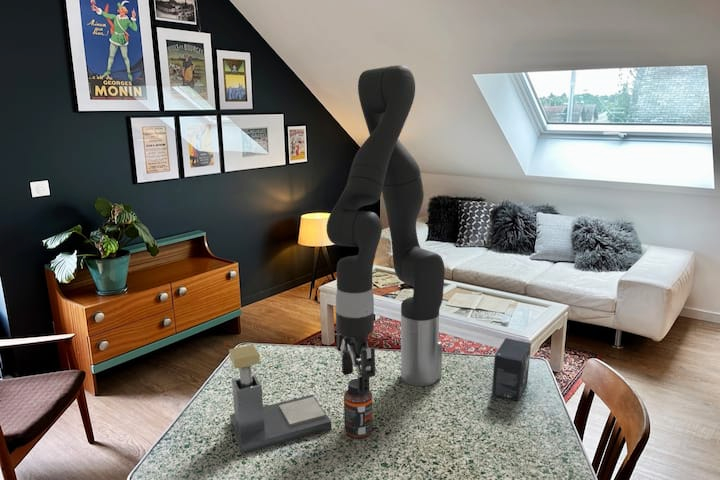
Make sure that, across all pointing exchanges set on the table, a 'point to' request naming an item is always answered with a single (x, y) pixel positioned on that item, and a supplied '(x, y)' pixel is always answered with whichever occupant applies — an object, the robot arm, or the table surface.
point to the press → (273, 418)
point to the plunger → (244, 363)
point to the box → (511, 369)
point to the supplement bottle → (357, 411)
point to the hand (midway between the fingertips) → (355, 382)
